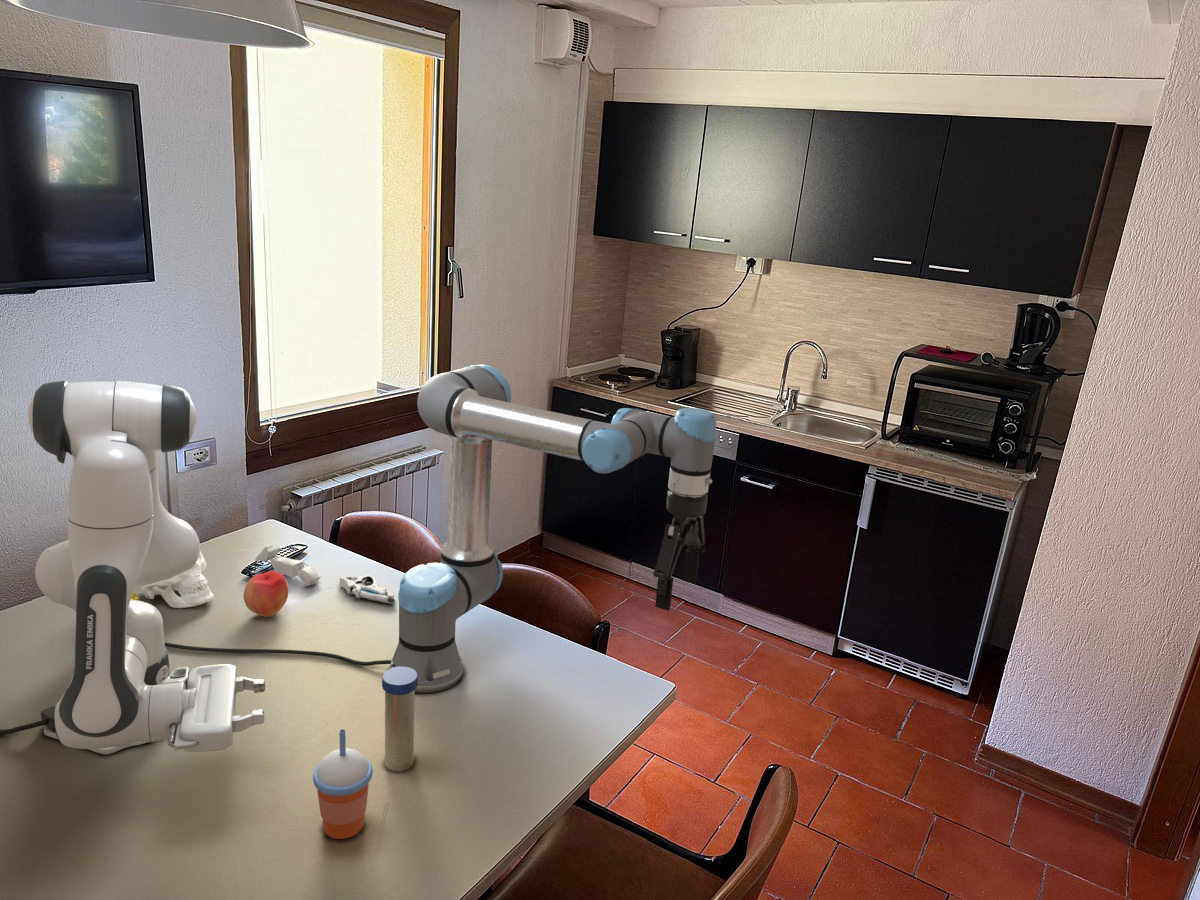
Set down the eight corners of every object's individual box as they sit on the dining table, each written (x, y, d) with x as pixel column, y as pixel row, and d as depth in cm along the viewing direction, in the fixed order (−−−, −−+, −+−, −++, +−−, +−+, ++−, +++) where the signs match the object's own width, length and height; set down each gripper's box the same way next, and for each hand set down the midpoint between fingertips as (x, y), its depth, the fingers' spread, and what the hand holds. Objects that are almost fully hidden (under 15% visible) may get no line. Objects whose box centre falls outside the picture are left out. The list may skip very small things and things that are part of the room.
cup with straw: (356, 851, 133) (355, 754, 128) (303, 839, 135) (300, 742, 130) (382, 812, 142) (382, 719, 137) (331, 801, 143) (330, 709, 138)
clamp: (253, 565, 223) (254, 542, 221) (265, 560, 226) (266, 537, 224) (309, 593, 215) (310, 569, 213) (320, 588, 218) (321, 564, 216)
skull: (192, 617, 196) (189, 553, 192) (115, 598, 202) (111, 536, 198) (232, 595, 209) (230, 534, 205) (158, 577, 214) (155, 518, 210)
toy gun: (412, 588, 214) (383, 600, 205) (411, 597, 215) (383, 610, 206) (358, 568, 223) (329, 579, 214) (358, 577, 223) (328, 588, 215)
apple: (273, 600, 207) (272, 562, 204) (297, 613, 202) (296, 575, 199) (237, 614, 200) (234, 575, 197) (261, 628, 194) (259, 588, 191)
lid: (423, 689, 149) (423, 679, 149) (390, 699, 146) (390, 689, 145) (409, 672, 154) (409, 662, 153) (376, 681, 150) (376, 671, 150)
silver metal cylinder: (418, 766, 154) (419, 681, 149) (391, 775, 151) (392, 688, 146) (406, 750, 158) (407, 667, 153) (380, 759, 155) (380, 674, 150)
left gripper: (163, 732, 128) (262, 719, 133) (178, 661, 147) (265, 653, 151) (166, 767, 130) (264, 754, 135) (180, 693, 148) (266, 684, 153)
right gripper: (681, 516, 147) (669, 626, 153) (728, 478, 168) (716, 576, 174) (642, 506, 150) (631, 614, 156) (693, 470, 171) (682, 566, 178)
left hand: (264, 700), depth 143 cm, fingers open, 8 cm apart
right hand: (676, 594), depth 165 cm, fingers open, 13 cm apart
